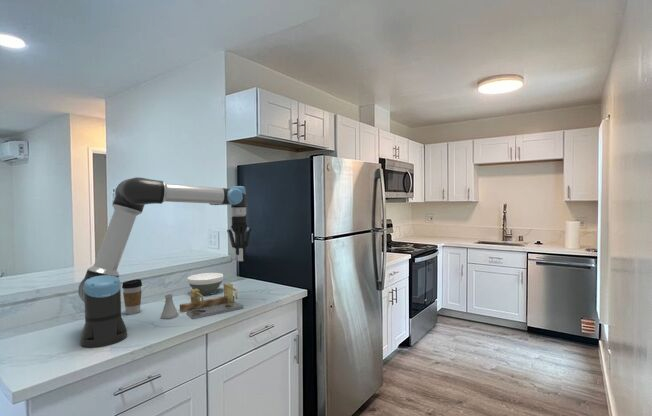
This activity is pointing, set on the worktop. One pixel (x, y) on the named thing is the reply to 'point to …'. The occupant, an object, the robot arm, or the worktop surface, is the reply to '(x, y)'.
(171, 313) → the flask
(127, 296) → the coffee cup
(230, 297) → the slider leg
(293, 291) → the worktop surface
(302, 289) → the worktop surface
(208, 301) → the rail
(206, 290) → the bowl
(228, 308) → the hole plate
